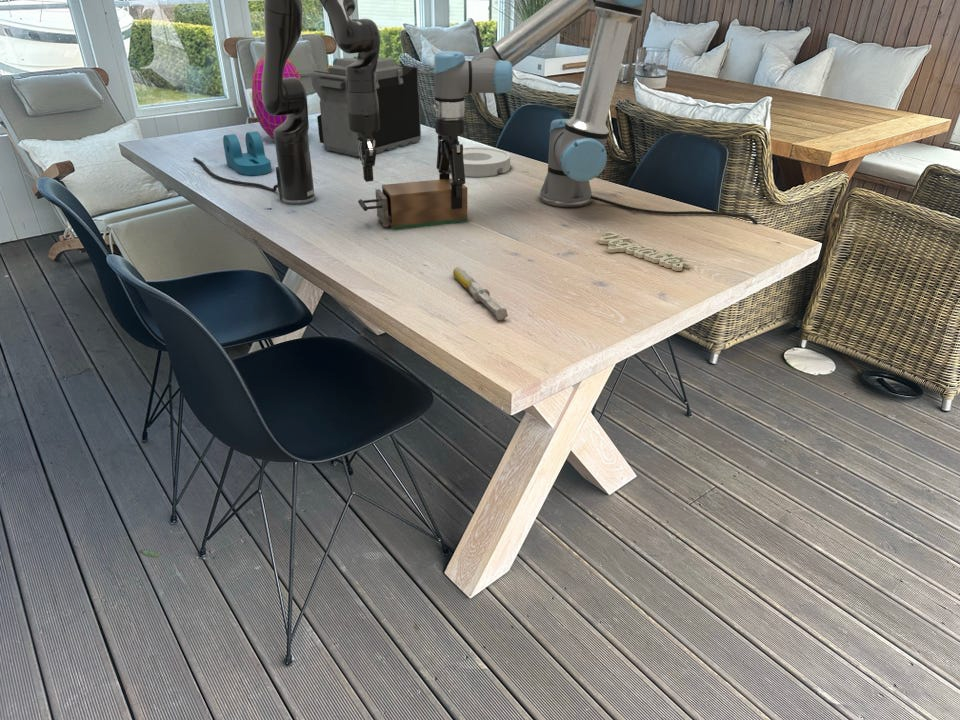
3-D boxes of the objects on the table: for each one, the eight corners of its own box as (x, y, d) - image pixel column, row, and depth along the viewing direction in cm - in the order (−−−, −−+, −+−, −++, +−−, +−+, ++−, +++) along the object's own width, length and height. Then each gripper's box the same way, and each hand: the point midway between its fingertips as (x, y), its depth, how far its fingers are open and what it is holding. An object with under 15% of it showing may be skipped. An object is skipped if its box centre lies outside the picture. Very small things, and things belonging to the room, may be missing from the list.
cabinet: (392, 229, 180) (390, 195, 175) (383, 218, 188) (381, 184, 183) (467, 221, 186) (467, 187, 182) (456, 210, 194) (455, 177, 189)
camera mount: (227, 164, 233) (221, 132, 227) (257, 160, 238) (252, 129, 233) (244, 176, 220) (239, 143, 215) (276, 172, 225) (271, 139, 220)
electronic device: (383, 133, 276) (378, 52, 261) (425, 141, 265) (422, 56, 250) (314, 150, 251) (304, 61, 235) (358, 160, 240) (350, 67, 224)
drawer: (365, 228, 178) (363, 200, 174) (358, 218, 185) (356, 191, 181) (455, 218, 185) (455, 191, 182) (446, 209, 192) (445, 182, 188)
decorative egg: (293, 132, 276) (283, 50, 261) (319, 140, 264) (310, 56, 249) (249, 139, 265) (236, 54, 250) (273, 148, 253) (261, 60, 238)
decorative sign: (584, 239, 172) (609, 230, 178) (583, 243, 172) (609, 234, 178) (672, 271, 155) (697, 260, 161) (671, 275, 156) (696, 264, 161)
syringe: (449, 274, 155) (449, 263, 153) (465, 272, 156) (464, 260, 154) (490, 323, 135) (491, 310, 133) (508, 319, 136) (508, 307, 134)
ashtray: (444, 158, 243) (444, 146, 241) (509, 159, 243) (510, 147, 241) (439, 176, 224) (438, 163, 222) (510, 177, 223) (510, 165, 221)
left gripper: (343, 106, 172) (349, 175, 181) (353, 116, 161) (359, 189, 170) (372, 104, 174) (377, 173, 183) (384, 114, 163) (389, 186, 172)
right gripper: (423, 110, 184) (425, 192, 195) (449, 127, 166) (450, 216, 177) (450, 108, 186) (450, 189, 197) (478, 125, 168) (477, 213, 179)
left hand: (368, 180), depth 176 cm, fingers closed
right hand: (450, 202), depth 187 cm, fingers closed on cabinet, 10 cm apart
